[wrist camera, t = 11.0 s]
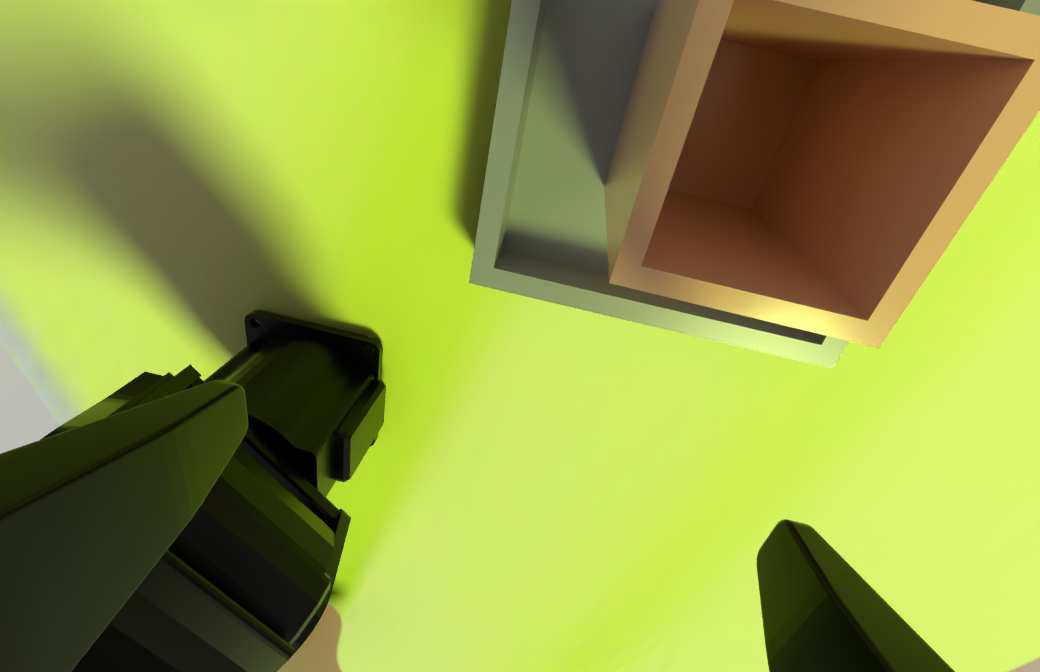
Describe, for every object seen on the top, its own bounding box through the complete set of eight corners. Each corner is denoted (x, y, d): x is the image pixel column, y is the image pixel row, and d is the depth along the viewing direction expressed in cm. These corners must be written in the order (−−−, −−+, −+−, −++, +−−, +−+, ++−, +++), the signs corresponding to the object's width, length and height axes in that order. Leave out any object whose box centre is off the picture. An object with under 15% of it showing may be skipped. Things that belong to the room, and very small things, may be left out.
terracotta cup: (604, 186, 18) (608, 282, 10) (655, 6, 15) (717, -57, 7) (754, 222, 18) (878, 348, 10) (833, 47, 15) (1095, 28, 7)
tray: (482, 259, 20) (469, 283, 18) (556, -196, 14) (548, -246, 11) (806, 335, 20) (832, 368, 18) (1050, -93, 13) (1139, -124, 11)
